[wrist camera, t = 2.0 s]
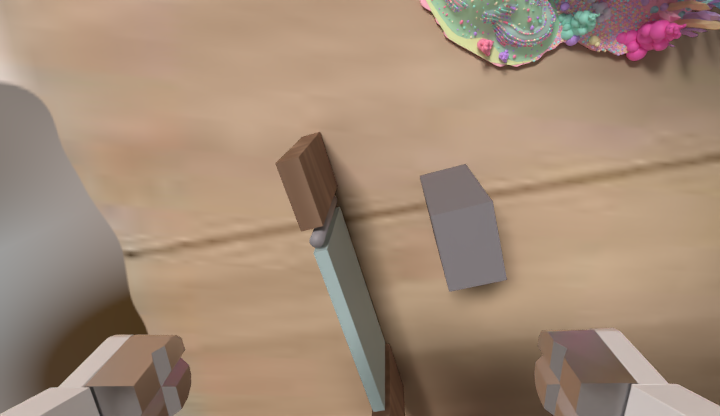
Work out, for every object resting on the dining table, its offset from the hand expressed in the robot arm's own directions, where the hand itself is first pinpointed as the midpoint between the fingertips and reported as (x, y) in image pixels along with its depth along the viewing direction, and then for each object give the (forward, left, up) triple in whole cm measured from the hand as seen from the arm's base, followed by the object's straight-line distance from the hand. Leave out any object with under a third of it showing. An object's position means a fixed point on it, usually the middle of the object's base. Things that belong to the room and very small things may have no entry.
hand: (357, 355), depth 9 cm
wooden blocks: (+5, +12, -26) cm, 29 cm away
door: (+5, +12, -25) cm, 29 cm away
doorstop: (-5, +7, -26) cm, 27 cm away
